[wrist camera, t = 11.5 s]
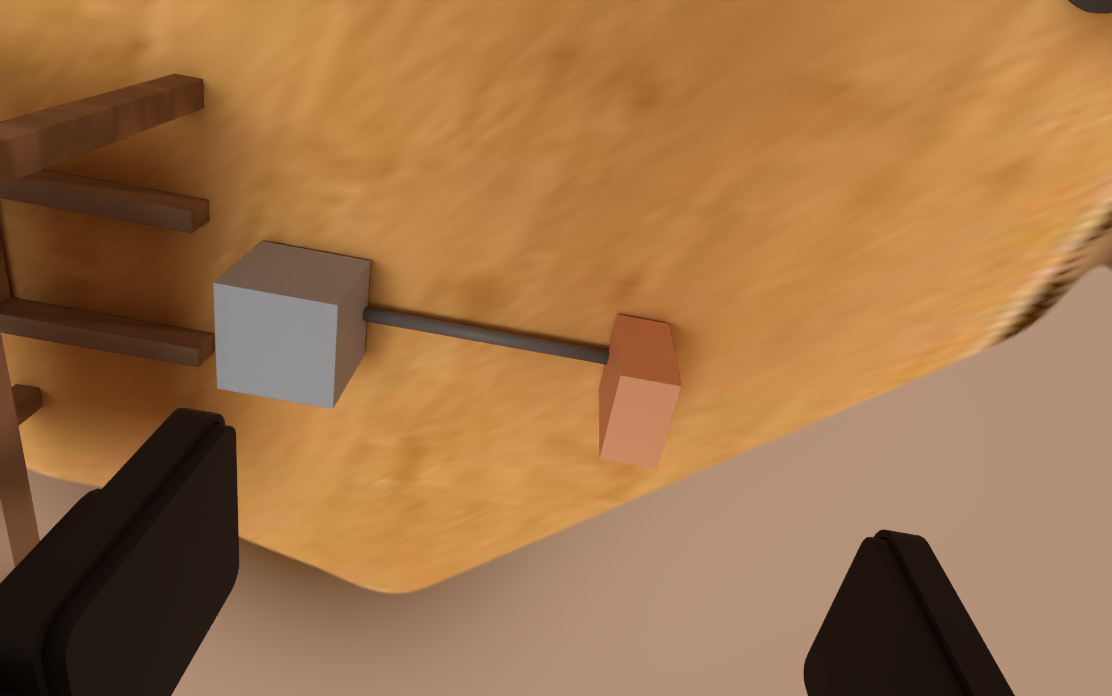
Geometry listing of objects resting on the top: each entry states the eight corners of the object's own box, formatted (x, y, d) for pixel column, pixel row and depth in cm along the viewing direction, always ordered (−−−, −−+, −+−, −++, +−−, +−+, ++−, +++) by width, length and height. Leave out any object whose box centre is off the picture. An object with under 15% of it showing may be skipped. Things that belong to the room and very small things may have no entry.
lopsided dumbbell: (262, 241, 41) (203, 291, 35) (671, 315, 42) (684, 377, 36) (262, 336, 44) (208, 398, 38) (646, 405, 45) (654, 476, 39)
